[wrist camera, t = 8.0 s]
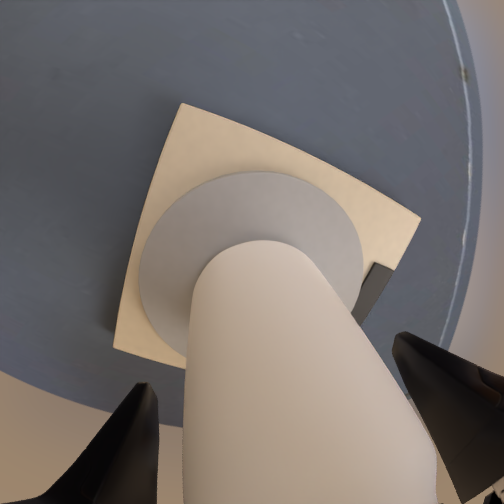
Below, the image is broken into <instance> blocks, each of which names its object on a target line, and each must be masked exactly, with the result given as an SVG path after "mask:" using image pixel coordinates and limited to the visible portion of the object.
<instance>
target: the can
mask: <svg viewBox="0 0 504 504" xmlns="http://www.w3.org/2000/svg"><path fill="white" fill-rule="evenodd" d="M436 469H437V459H436V452H435V449H434V446H433V444H432V442H431V440H430V438H429V436H428V434H427V432H426V431H425V429H424V427H423V425H422V423H421V422H420V420H419V419H418V417H417V415H416V413H415V412H414V410H413V408H412V407H411V405H410V403H409V402H408V400H407V398H406V397H405V395H404V394H403V392H402V390H401V389H400V387H399V386H398V384H397V383H396V381H395V379H394V378H393V376H392V375H391V373H390V372H389V370H388V368H387V367H386V365H385V364H384V362H383V361H382V359H381V358H380V356H379V355H378V353H377V352H376V350H375V349H374V347H373V346H372V344H371V343H370V341H369V340H368V338H367V337H366V335H365V334H364V332H363V331H362V329H361V328H360V326H359V325H358V324H357V322H356V321H355V319H354V318H353V316H352V315H351V313H350V312H349V311H348V309H347V308H346V306H345V305H344V304H343V302H342V301H341V299H340V298H339V296H338V295H337V294H336V292H335V291H334V290H333V288H332V287H331V285H330V284H329V283H328V281H327V280H326V279H325V277H324V276H323V275H322V273H321V272H320V271H319V269H318V268H317V267H316V265H315V264H314V263H313V262H312V261H311V259H310V258H309V257H308V256H306V255H305V254H304V253H303V252H301V251H300V250H298V249H297V248H295V247H293V246H291V245H288V244H285V243H282V242H277V241H270V240H257V241H250V242H245V243H241V244H238V245H235V246H233V247H230V248H228V249H226V250H224V251H222V252H221V253H219V254H218V255H217V256H215V257H214V258H213V259H212V260H211V261H210V262H209V263H208V264H207V266H206V267H205V268H204V270H203V271H202V273H201V274H200V276H199V278H198V280H197V282H196V284H195V287H194V291H193V296H192V304H191V312H190V322H189V333H188V345H187V358H186V373H185V391H184V413H183V500H184V504H439V503H438V500H437V496H436V471H437V470H436ZM441 504H443V503H441Z"/></svg>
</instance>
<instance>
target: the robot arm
mask: <svg viewBox="0 0 504 504" xmlns="http://www.w3.org/2000/svg"><path fill="white" fill-rule="evenodd" d="M392 355H393V357H394V360H395V362H396V364H397V367H398V369H399V372H400V374H401V377H402V379H403V382H404V384H405V386H406V388H407V390H408V392H409V394H410V396H411V398H412V399H413V401H414V403H415V405H416V407H417V409H418V411H419V413H420V414H421V417H422V419H423V421H424V423H425V424H426V426H427V428H428V430H429V433H430V435H431V437H432V439H433V440H434V443H435V445H436V447H437V449H438V451H439V453H440V455H441V458H442V460H443V462H444V464H445V466H446V469H447V471H448V473H449V476H450V478H451V480H452V482H453V485H454V487H455V489H456V492H457V494H458V497H459V499H460V501H461V503H462V504H464V503H466V502H467V501H469V500H470V499H472V498H474V497H475V496H477V495H478V494H480V493H481V492H483V491H484V490H485V489H487V488H489V487H490V486H491V485H492V487H493V489H494V490H493V491H492V492H491V493H490V494H489V495H487V496H486V497H485V499H484V503H483V504H504V377H503V376H501V375H498V374H495V373H493V372H491V371H489V370H486V369H484V368H482V367H480V366H477V365H476V364H474V363H471V362H469V361H467V360H465V359H463V358H461V357H459V356H457V355H454V354H452V353H450V352H448V351H446V350H444V349H442V348H440V347H438V346H436V345H434V344H432V343H430V342H427V341H425V340H423V339H421V338H419V337H417V336H415V335H413V334H411V333H409V332H406V331H405V332H401V333H398V334H397V335H396V336H395V339H394V344H393V348H392ZM158 450H159V421H158V400H157V396H156V394H155V393H154V391H153V389H152V387H151V385H150V384H149V383H148V382H140V383H137V384H136V385H135V386H134V387H133V389H132V390H131V391H130V392H129V394H128V395H127V396H126V397H125V399H124V400H123V401H122V403H121V404H120V405H119V406H118V408H117V409H116V410H115V411H114V413H113V414H112V415H111V416H110V418H109V419H108V420H107V422H106V423H105V424H104V425H103V427H102V428H101V429H100V430H99V432H98V433H97V434H96V436H95V437H94V438H93V439H92V441H91V442H90V443H89V445H88V446H87V447H86V449H85V450H84V451H83V452H82V453H81V455H80V456H79V457H78V458H77V460H76V461H75V462H74V463H73V464H72V465H71V467H70V468H69V469H68V470H67V471H66V472H65V473H64V474H63V475H62V476H61V477H60V478H59V479H58V480H57V481H56V482H55V483H54V484H53V485H52V486H51V487H50V488H49V489H48V490H47V491H46V492H45V493H43V494H42V495H40V496H38V497H35V498H31V499H26V500H21V501H15V502H10V503H3V504H157V473H158Z"/></svg>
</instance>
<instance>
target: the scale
mask: <svg viewBox="0 0 504 504" xmlns="http://www.w3.org/2000/svg"><path fill="white" fill-rule="evenodd" d="M420 220H421V218H420V217H419V216H417V215H416V214H414V213H413V212H411V211H410V210H408V209H406V208H405V207H403V206H402V205H400V204H399V203H397V202H395V201H394V200H392V199H390V198H389V197H387V196H385V195H384V194H382V193H380V192H379V191H377V190H375V189H374V188H372V187H370V186H368V185H367V184H365V183H363V182H361V181H360V180H358V179H356V178H354V177H352V176H350V175H349V174H347V173H345V172H343V171H341V170H339V169H337V168H336V167H334V166H332V165H330V164H328V163H326V162H324V161H322V160H320V159H318V158H316V157H314V156H312V155H310V154H308V153H306V152H304V151H301V150H299V149H297V148H295V147H293V146H291V145H289V144H286V143H284V142H282V141H280V140H278V139H275V138H273V137H271V136H268V135H266V134H264V133H261V132H259V131H257V130H254V129H252V128H249V127H247V126H245V125H242V124H240V123H237V122H234V121H232V120H229V119H227V118H224V117H221V116H219V115H216V114H213V113H210V112H208V111H205V110H202V109H199V108H196V107H193V106H190V105H187V104H184V103H182V104H181V105H180V107H179V110H178V112H177V114H176V117H175V119H174V122H173V124H172V127H171V129H170V132H169V134H168V137H167V139H166V142H165V145H164V147H163V150H162V153H161V156H160V158H159V161H158V164H157V167H156V170H155V173H154V176H153V179H152V182H151V185H150V188H149V191H148V194H147V197H146V201H145V204H144V207H143V211H142V214H141V217H140V221H139V225H138V228H137V232H136V236H135V239H134V243H133V247H132V251H131V255H130V259H129V264H128V268H127V272H126V277H125V281H124V286H123V291H122V296H121V301H120V306H119V312H118V318H117V323H116V330H115V336H114V343H113V347H114V348H116V349H119V350H122V351H125V352H128V353H131V354H134V355H137V356H141V357H144V358H147V359H151V360H154V361H157V362H161V363H164V364H168V365H172V366H175V367H179V368H183V369H186V358H187V345H188V333H189V322H190V312H191V304H192V296H193V291H194V287H195V284H196V282H197V280H198V278H199V276H200V274H201V273H202V271H203V270H204V268H205V267H206V266H207V264H208V263H209V262H210V261H211V260H212V259H213V258H214V257H215V256H217V255H218V254H219V253H221V252H222V251H224V250H226V249H228V248H230V247H233V246H235V245H238V244H241V243H245V242H250V241H257V240H270V241H277V242H282V243H285V244H288V245H291V246H293V247H295V248H297V249H298V250H300V251H301V252H303V253H304V254H305V255H306V256H308V257H309V258H310V259H311V261H312V262H313V263H314V264H315V265H316V267H317V268H318V269H319V271H320V272H321V273H322V275H323V276H324V277H325V279H326V280H327V281H328V283H329V284H330V285H331V287H332V288H333V290H334V291H335V292H336V294H337V295H338V296H339V298H340V299H341V301H342V302H343V304H344V305H345V306H346V308H347V309H348V311H349V312H350V313H351V315H352V316H353V318H354V319H355V321H356V322H357V324H358V325H359V326H361V324H362V323H363V321H364V320H365V318H366V317H367V315H368V314H369V312H370V310H371V309H372V307H373V306H374V304H375V303H376V301H377V299H378V298H379V296H380V294H381V293H382V291H383V289H384V288H385V286H386V284H387V283H388V281H389V279H390V278H391V276H392V274H393V272H394V270H395V268H396V267H397V265H398V263H399V261H400V259H401V257H402V256H403V254H404V252H405V250H406V248H407V246H408V244H409V242H410V240H411V238H412V237H413V235H414V233H415V231H416V229H417V226H418V224H419V222H420Z"/></svg>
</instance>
